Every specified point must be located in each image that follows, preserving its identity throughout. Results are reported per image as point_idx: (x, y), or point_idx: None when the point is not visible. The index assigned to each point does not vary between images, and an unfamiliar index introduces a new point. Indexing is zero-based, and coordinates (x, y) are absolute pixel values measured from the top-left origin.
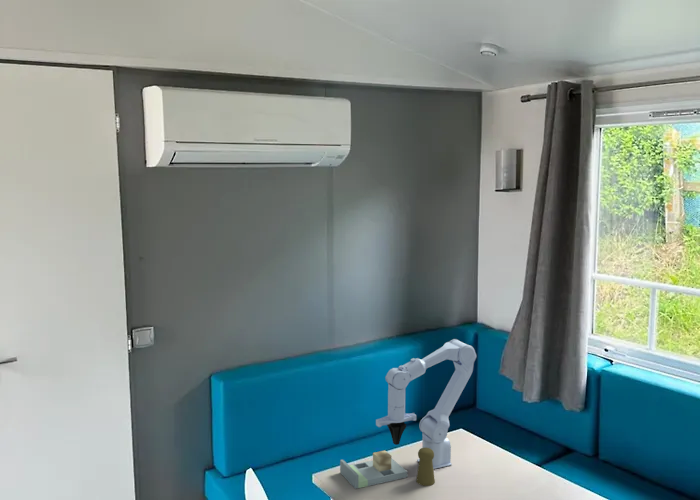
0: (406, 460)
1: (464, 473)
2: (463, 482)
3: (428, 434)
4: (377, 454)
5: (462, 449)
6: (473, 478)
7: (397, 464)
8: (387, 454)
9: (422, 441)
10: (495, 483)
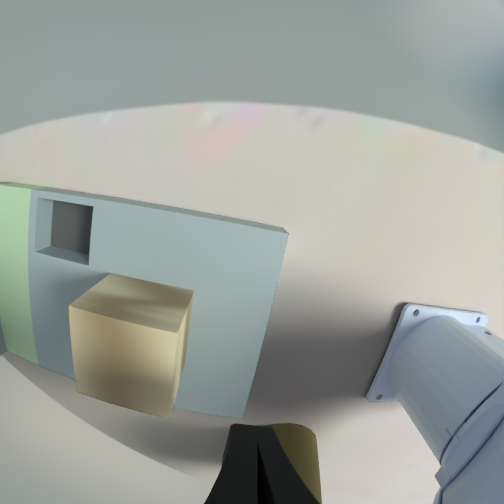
0: (374, 264)
1: (419, 442)
2: (367, 476)
3: (461, 494)
4: (87, 348)
5: None
6: (405, 466)
7: (253, 344)
8: (154, 392)
9: (466, 396)
10: (410, 487)
